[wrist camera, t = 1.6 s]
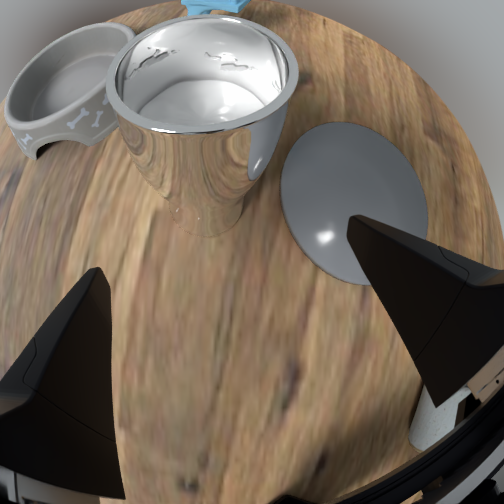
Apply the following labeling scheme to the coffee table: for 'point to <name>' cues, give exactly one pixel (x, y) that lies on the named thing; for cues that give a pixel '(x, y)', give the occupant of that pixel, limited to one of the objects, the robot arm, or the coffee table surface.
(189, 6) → the chair
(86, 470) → the robot arm
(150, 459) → the coffee table surface
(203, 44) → the chrome tumbler cup
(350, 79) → the coffee table surface
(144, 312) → the coffee table surface
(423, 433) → the ceramic mug
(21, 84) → the dog bowl
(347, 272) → the coaster board
